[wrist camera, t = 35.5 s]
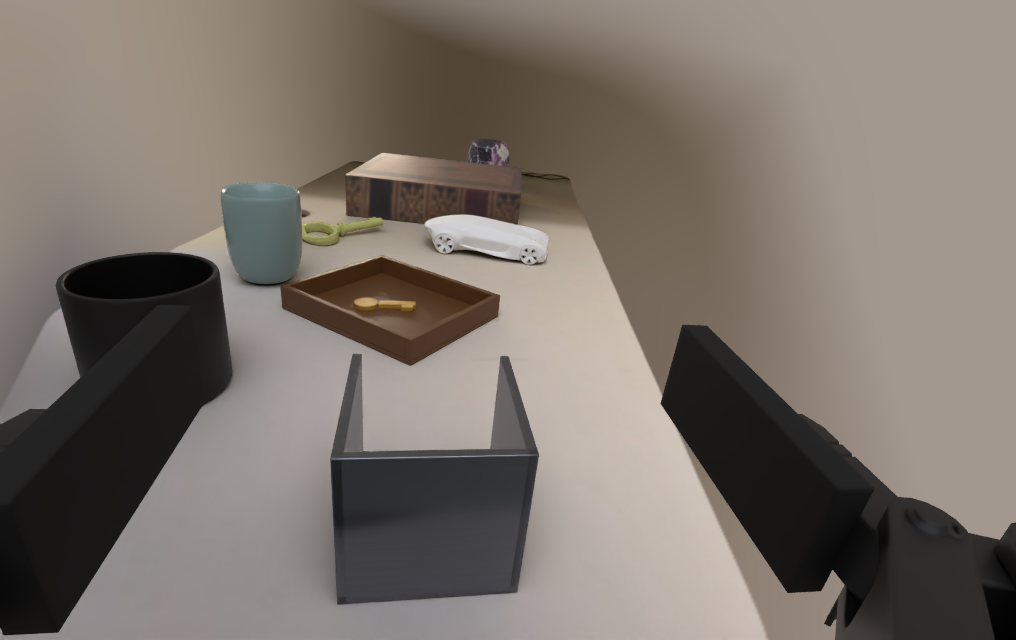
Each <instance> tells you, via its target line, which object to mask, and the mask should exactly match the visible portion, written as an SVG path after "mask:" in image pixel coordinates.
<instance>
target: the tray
mask: <svg viewBox="0 0 1016 640" xmlns="http://www.w3.org/2000/svg"><path fill="white" fill-rule="evenodd" d="M281 297H282V308H284V309H286V310H288V311H290V312H292V313H295V314H297V315H299V316H301V317H304V318H306V319H308V320H310V321H313V322H315V323H317V324H319V325H321V326H324V327H326V328H328V329H330V330H333V331H335V332H337V333H339V334H341V335H344V336H346V337H348V338H350V339H353V340H355V341H357V342H359V343H362V344H364V345H366V346H368V347H370V348H373V349H375V350H377V351H379V352H382V353H384V354H386V355H388V356H390V357H393V358H395V359H397V360H399V361H402V362H404V363H406V364H408V365H412V364H414V363H416V362H417V361H419V360H421V359H423V358H425V357H426V356H428V355H430V354H432V353H433V352H435V351H437V350H439V349H441V348H442V347H444V346H446V345H448V344H449V343H451V342H453V341H455V340H457V339H458V338H460V337H462V336H464V335H465V334H467V333H469V332H471V331H473V330H474V329H476V328H478V327H480V326H481V325H483V324H485V323H487V322H489V321H490V320H492V319H494V318H496V317H497V316H498V311H499V302H500V295H498V294H494V293H491V292H489V291H486V290H483V289H480V288H477V287H474V286H471V285H468V284H465V283H462V282H459V281H456V280H453V279H450V278H447V277H444V276H441V275H439V274H436V273H433V272H430V271H427V270H424V269H421V268H418V267H415V266H412V265H409V264H406V263H403V262H400V261H397V260H394V259H391V258H389V257H386V256H383V255H380V256H377V257H374V258H370V259H367V260H364V261H360V262H357V263H354V264H350V265H347V266H344V267H341V268H337V269H334V270H331V271H327V272H324V273H321V274H317V275H314V276H311V277H307V278H304V279H301V280H298V281H294V282H291V283H288V284H284V285H281ZM364 297H368V298H374V299H376V300H377V301H378V307H377V308H376V309H374V310H370V311H362V310H358V309H356V308H355V307H354V301H355V300H356V299H359V298H364ZM380 300H381V301H415V302H416V309H413V311H401V309H388V308H379V301H380Z"/></svg>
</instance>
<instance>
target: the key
mask: <svg viewBox="0 0 1016 640" xmlns="http://www.w3.org/2000/svg"><path fill="white" fill-rule="evenodd" d="M381 225H383V220H382V218H376V217H373V218H368V220H364V221H359V222H354V223H349V224H342V223H338V224H337V226H332V225H330V224H327V223H323V222H311V223H307V224H304V225H302V239H303V240H304V241H306V242H308V243H311V244H315V245H321V246H325V245H331V244H334V243H336V242H338V239H339V235H340V236H344V234H345V233H346V232H351V231H356V230H361V229H366V228H371V227H376V226H381ZM311 231H322V232H326V233H328V234H330V235H328V236H324V237H315V236H310V235H308V234H307V232H311Z"/></svg>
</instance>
